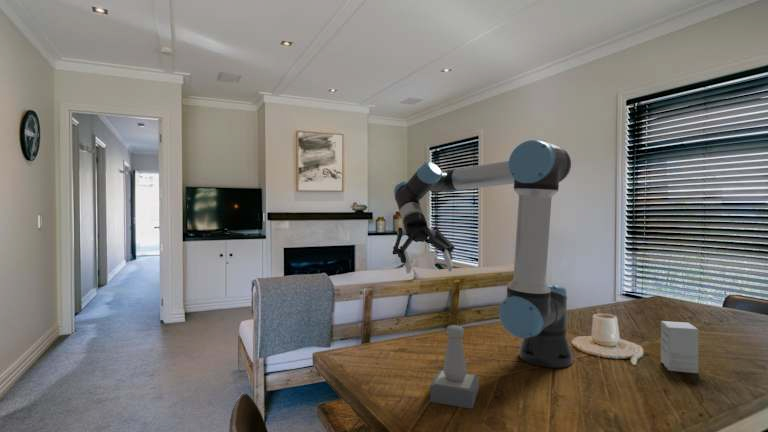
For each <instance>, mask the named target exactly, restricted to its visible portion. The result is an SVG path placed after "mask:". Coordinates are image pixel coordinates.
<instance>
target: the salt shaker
mask: <svg viewBox="0 0 768 432" xmlns="http://www.w3.org/2000/svg"><path fill="white" fill-rule="evenodd" d="M445 332H446V333H445V334H446V336H447V337H448V339H447V340H448V341H447V345H446V350H445V357H444V361H443V368H442V370H443V371H444V374H445V376H446V379H447V380H449V381H451V382H461V381H463V380H464V378H465V376H466V374H468V373H467V371H468V368H467V367H468V366H467V362H466V358H465V357H466V356H465V352H464V346H463V339H462V338H463V337H464V334H465V331H464V328H463V327H462V325H457V324H452V325H448V326H447V327H446V331H445Z"/></svg>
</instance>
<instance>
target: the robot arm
mask: <svg viewBox="0 0 768 432" xmlns="http://www.w3.org/2000/svg"><path fill="white" fill-rule="evenodd" d="M571 169H572V159H571V156H570V155H569V153H568V151H567V150H565V148H563V147H562V146H559V145H557V144H552V143H549V142H548V141H545V140H538V139H531V140H530V139H529V140H525V141H523V142H522V143H520V144H519V145H517V146H516V147H515V148H514V149H513V151H512V152H511V154H510V156H509V159H508V160H504V161H500V162H499V161H498V162H493V163H487V164H480V165H475V166H468V167H462V168H454V169H449V170H441V168H440V167H439V166H438V165H437V164H435V163H433V162H432V161H426V162H424V163H423V164H422V165H421V166H420V167H419V168H418V169H417V170H416V171H415V173H414V174H413V175H412V176H411V177H410V178H409V180H408V181H401V182H400V183H398V184H396V185H395V186H394V188H393V189H394V190H393V193H394V200H395V202H396V205H397V208H398V211H399V214H400V218H401V221H402V224H403V227H404V229H403V228H402V227H398V228H397V232H396V235H397V236H396V237H397V238H396V241H395V242H394V243H395V244H394V246H393V250H392V254H393V255H397V257H398V258H399V260H400V262H401V264H404V267H405V271H406V273H407V274H410V273H411V271H412V264H411V261H410V260H411V259H410V258H409V254H408V251H407V249H408V247H409V246H410V245H411V244H412V243H413V242H414V243H415V242H416V243H419V242H421V243H425V242H426V244H430V245H431V246H432V247H434V248H436V249H437V250H439V252H441V253H443V254H442V258H443V260H444V262H445V265H446V267H447V271H448V272H452V270H453V268H454V263H453V254H452V253H453V251H454V249H455V246H454V244H453V243H452V242H451V241H449V239H448V238H447V237H445V235H444V234H443V233H442V232H441V231H440V230H439V228H438V227H437V226H434V228H430V227H428V223H427V220H426V217H425V214H424V211H423V209H422V206H421V203H420V201H421V200H422V199H423V198H424V197H425V196H426V195H427V194H428V192H442V193H443V192H444V193H454V192H457V191H462V190H469V189H471V190H472V189H479V188H480V189H481V188H487V187H489V188H490V187H496V186H504V185H505V186H506V185H513V191H515V193H516V194H517V195H518V203H517V204H518V206H517V218H516V219H517V220H516V234H515V246H514V248H515V250H514V251H515V252H514V262H513V264H514V265H513V279H512V280H511V281H510V282H509V283H508V284H507V286H506V298H504V300H503V301H502V302H501V303H500V305H499V308H498V316H499V320H500V323H501V325H502V326H503V327H504V329H505V330H506V331H507V332H508V333H509V334H510V335H511V336H513V337H516V338H519V339H522V341H521V344H520V347H519V358H520V359H521V360H522V361H524V362H525V363H528V364H531V365H534V366H537V367H544V368H550V369H551V368H552V369H554V368H556V369H560V368H566V367H570V366H571V365H572V364H573V363H574V362H573V360H574V359H573V357H574V356H573V352H572V349H571V346H570V343H569V340H568V337H567V304H568V302H567V300H568V296H567V289H566V288H565V287H564V286H561V285H556V284H552V283H551V284H550V283H546V280H547V268H548V267H547V266H548V254H549V253H548V252H549V242H550V241H549V240H550V227H551V214H552V213H551V212H552V210H551V209H552V199H553V196H555V195H556V194H557V193H558V192H559V186H560V182H562V181H563V180H565V179H566V178H567V176H568V175H569V174H570V172H571ZM403 236H407V239H405V242H403V244H402V245H401V247H400V248H399V246H400V243H401V240H402V238H403Z"/></svg>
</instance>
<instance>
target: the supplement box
mask: <svg viewBox="0 0 768 432" xmlns="http://www.w3.org/2000/svg"><path fill="white" fill-rule="evenodd" d="M699 330H700V329H698V328H697V327H696V326H695V325H693V324H691V323H690V322H683V321H682V322H681V321H668V320H666V321H665V320H661V321H660V362H661V364H662V363H663V364H664V365H663V364H662V365H663V366H664V367H665V368H666V369H667V371H669V372H679V373H680V372H681V373H688V374H689V373H690V374H699Z"/></svg>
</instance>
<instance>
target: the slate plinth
mask: <svg viewBox="0 0 768 432" xmlns="http://www.w3.org/2000/svg"><path fill="white" fill-rule="evenodd" d="M479 378H480V377H479V375H478V374H477V375H476V374H471V373H466V376H465V378H464V380H463V381H461V382H451V381H449V380H447V379H446V376H445V374H444V371H443V369H442V370H441V369H439V370H438V372H437V373H436V375H435V376H434V378H433V380H432V382H431V383H430V384H429V402H431V403H434V404H435V403H436V404H441V405H448V406H453V407H459V408H463V409H464V408H466V409H469V410H470V409H473V408H474V405H475V403H476V400H477V397H478V394H479V385H480V384H479V383H480V381H479Z"/></svg>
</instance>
